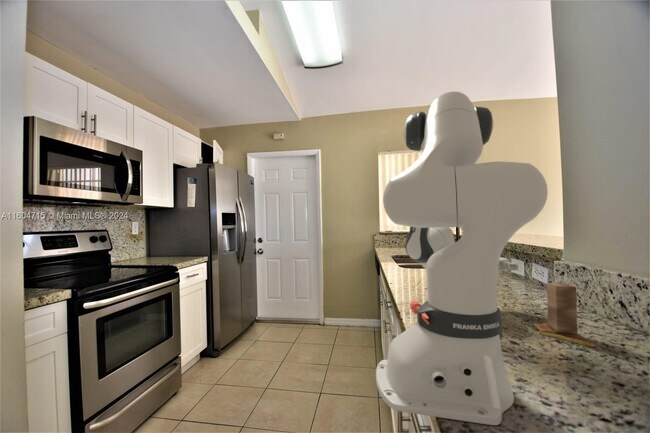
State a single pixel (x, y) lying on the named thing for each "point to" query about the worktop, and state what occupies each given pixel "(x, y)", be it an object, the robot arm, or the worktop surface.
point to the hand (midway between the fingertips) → (508, 268)
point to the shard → (563, 335)
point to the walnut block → (562, 307)
